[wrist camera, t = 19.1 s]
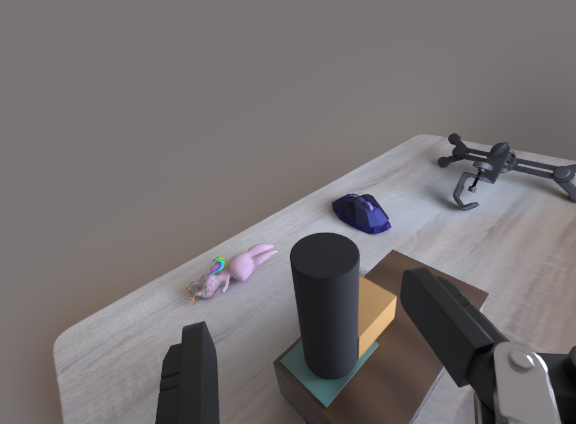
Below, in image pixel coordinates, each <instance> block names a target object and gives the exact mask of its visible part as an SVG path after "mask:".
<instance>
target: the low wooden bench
mask: <svg viewBox="0 0 576 424" xmlns="http://www.w3.org/2000/svg"><path fill="white" fill-rule="evenodd" d="M419 266H425V267H426V268H427V269H428V270H429V271H430V272H431V273H432V274H433V275H434V276H439V275H440V276H442V277H443V278H445V279H447V280H449V281H450V282H452V283H453V284H454V285H455V286H456V287H457V288H458V289H459V290H460V291H461V292H462V293H463V295H464V296H466V297H467V298H468V299H469V300H470V301H471V303H472V305H473V304H474V305H475V306H476V307H477V309H478V310H479V311H480V312H481V313H482V314H483V312H484V309H485V307H486V304H487V301H488V298H489V296H490V294H489V293H487V292H485V291H482V290H480V289H478V288H476V287H474V286H472V285H469V284H467V283H465V282H463V281H461V280H458V279H456V278H454V277H452V276H450V275H447V274H445V273H443V272H441V271H439V270H436V269H434V268H432V267H430V266H428V265H425V264H423V263H421V262H419V261H417V260H414V259H412V258H410V257H408V256H406V255H403V254H401V253H399V252H397V251H395V250H392V251H391V252H390V253H389V254H387V255H386V256H385V257H384V258H383V259H382V260H381V261H380V262H379V263H378V264H377V265H376V266H375V267H374V268H373V269H372V270H371V271H369V272H368V273H367V274H366V275H365V276H364V277H363V278H365V279H367V280H369V281H371V282H372V283H374V284H376V285H378V286H379V287H381V288H383V289H385V290H387V291H388V292H390V293H392V294H394V295H395V296H397V300H396V308H395V316H394V319H393V320H392V321H391V322H390V323H389V325H388V326H387V327H386V328H385V329H384V330H383V332H382V333H381V334H380V335H379V336H378V337H377V339H376V340H375V341H374V342H373V343H372V344H371V346H370V347H369V348H368V349H367V350H366V351H365V353H364V354H363V355H362V356H361V357H360V358H359V359H357V362H356V365H355V367H354V368H353V370H352V371H351V372H350V373H349V374H348V375H346V376H344V377H342V378H339V379H333V380H332V379H325V378H321V377H319V376H317V375H316V374H314V373H313V372H312V371H311V370H310V369H309V367H308V366H307V364H306V361H305V358H304V352H303V345H302V338H301V337H300V338H298V339H297V340H296V341H295V342H294V343H293V344H292V345H291V346H290V347H289V348H288V349H287V350H286V351H285V352H284V353H283V354H282V355H280V356H279V357H278V358H277V359H276V360H275V361H274V362H273V365H274V369H275V372H276V376H277V380H278V384H279V388H280V392H281V394H282V395H283V396H284V397H285V398H286V400H287V401H288V402H289V403H290V404H291V405H292V406H293V407H294V408H295V409H296V410H297V412H298V413H299V414H300V415H301V416H302V417H303V418H304V419H305V420H306V421H307V422H308V424H412V423H413V422H414V420H415V419H416V417H417V415H418V414H419V412H420V410H421V409H422V407H423V406H424V404H425V402H426V401H427V399H428V398H429V396H430V394H431V393H432V391H433V389H434V388H435V386H436V385H437V383H438V381H439V380H440V378H441V376H442V375H443V373H444V372H445V370H446V369H445V367H444V366H443V364H442V363H441V361H440V360H439V359H438V357H437V356H436V354H435V353H434V351H433V350H432V349H431V347H430V346H429V344H428V343H427V341H426V340H425V339H424V337H423V336H422V334H421V333H420V332H419V330H418V329H417V327H416V326H415V324H414V323H413V322H412V320H411V319H410V317H409V316H408V314H407V313H406V312H405V310H404V308H403V306H402V304H401V300H400V291H401V285H402V278H403V272H404V271H405V270H407V269H411V268H415V267H419Z"/></svg>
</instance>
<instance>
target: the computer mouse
mask: <svg viewBox="0 0 576 424" xmlns="http://www.w3.org/2000/svg"><path fill="white" fill-rule="evenodd" d="M332 205H333V210H334V212H335V213H336V214H337V216H338V217H339V219H341V220H342V221H344V222H346V223H347V224H349V225H351V226H352V227H354V228H357V229H359V230H361V231H363V232H366V233H368V234H376V233H380V232H384V231H386V230H388V229H389V228H391V225H390V223H389V221H388V219H389V218H388V216H387V215H386V213H385V212H384V210H383V209H382V207H381V206H380V205H379V204H378V202H377V201H376V200H375V198H374V197H373V196H371V195H369V194H365V195H361V196H358V195H356V194H348V195H346V196H344V197H341V198H339V199H337V200H335V201H334V202H332Z"/></svg>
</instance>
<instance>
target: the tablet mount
mask: <svg viewBox="0 0 576 424" xmlns="http://www.w3.org/2000/svg"><path fill="white" fill-rule="evenodd" d="M460 139H461V138H460V136H459V135H457V134H455V133H454V134H451V135H450V136H449V137H448V140H449V142H450V143H451V144H453V145H456V147H455V148H454V149H453V151H452V154H453V156H450V157H441V158H439V159H438V164H439V166H440V167H443V168H444V167H447V166H448V165H449V163H451V162H455V161H459V160H463V159H467V160H471V161H476V162H474V164H473V166H475V167H477V168H479V169H478V171H479V172H478V174H477V175H475V174H471V173H467V172H465V173H463V174H462V176H461V178H460V180H459V182H458V184H457V187H456V189H455V191H454V193H453V197H454V199H455V201H456V202H457V204H458V206H459V207H461V208H463V209H464V210H470V209H472V208H475V207H477V206H479V204H478V202H473V203H469V204H467V205H463V203H462V202H461V200H460V198H459V197H460V194H461V192H462V190H463V188H464V186H463V185H464V183H465V181H466V179H467V178H468V177H473V178H475V181H474V183H473V185H472V186H469V189H468V191H471V192H475V190H476V188H475V186H476V184H477V182H478V180H480V181H484V182H488V183H491V184H494V183H495V181H496V179H497V177H498V175H499V173H506V172H507V171H511V170H515V171H519V172H523V173H528V174H532V175H536V176H541V177H545V178H549V179H553V180H554V181H555V182H556V183H557V184H559V185H560V186H561V187H562V188H563V189H564V190H565V191H566V192H567V193H568V194H569V199H570V200H571V201H573V202H576V187H575V186H574V185H573V184H572V183H571V182H570V181H571V180H572V179H573V178H574V176H575V172H576V164H574V165H569V166H560V167H558V166H553V165H548V164H543V163H538V162H533V161H528V160H523V159H518V158H516V155H515V154H514V152H513V151H510V147H509V145H508V144H509V143H508V142H504V143H499V144H496V145H495V146H493V148H492V149H491V151H490V153H489V152H484V151H479V150H475V149H470V148H467V147H466V146H465V145H464V144H463V142H462V141H461V140H460ZM469 153H473V154H478V155H482V156H487V159H485V158H480V157H476V156H471V155H468V154H469ZM517 164H524V165H529V166H534V167H538V168H543V169H548V170H552V171H554V172H553V173H549V172H544V171H540V170H535V169H531V168H526V167H521V166H518V165H517Z"/></svg>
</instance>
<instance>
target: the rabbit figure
mask: <svg viewBox="0 0 576 424" xmlns="http://www.w3.org/2000/svg"><path fill="white" fill-rule="evenodd" d="M272 247H274V246H273V245H270V244H258V245H255V246H253V247H251V248H250V249H249V250H248V251H247V252H245V253H240V254H238V255H236V256H234V257H233V258H232V259H231V260H230V262H229V265H228V266H229V269H228V271H224V270H222V269H223V267H224V265H225V260H224V259H223V258H222V257H218V258H216V259H214V260H213V261H212V262H216V264H215V265H214V266H213V267H211V270H210V272H209V274H205V275H203V276H202V277H201V278H200V279H199V280H198V281H196V282H192V283H191V284H190V286H189V287H187V286H185V287H187V290H188V291H189V292H190V294H191V290H190V288H191V287H192V286H195V287H196V288H197V289H198V290H199V292H196V293H195V295H194V296H193V297H190V300H191V301H192V302H193V303H194V305H195V301H194V297H195V296H200V297H202V298H204V299H207V298H210V297H211V296H212V295H213V294H214V292H215V291H216V290H217V288H218V287H219V286H221V285H224V287H223V289H222V290H221V292H222V293H224V292H225V291H226V289H227V287H228V284H229V278H230V277H233V278H234V279H236V280H237V281H239V282H243V281H245V280H246V279H247V278H248V277H249V276H250V275H251V274H252V272H253V270H254V268H256V267H257V266H259V265H260V264H262V263H263V262H264V261H265V260H266V259H267V258H269V257H270V256H271V255H273V254H275V253H276V252H277V250H272V251H266V250H268V249H270V248H272ZM264 251H266V252H264ZM216 272H219V274H218V275H213V274H214V273H216Z"/></svg>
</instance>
